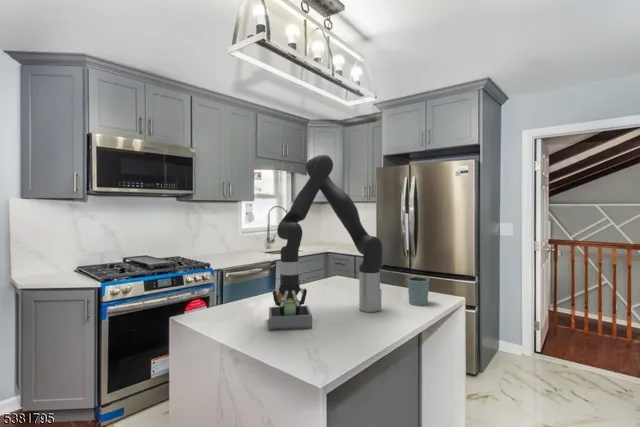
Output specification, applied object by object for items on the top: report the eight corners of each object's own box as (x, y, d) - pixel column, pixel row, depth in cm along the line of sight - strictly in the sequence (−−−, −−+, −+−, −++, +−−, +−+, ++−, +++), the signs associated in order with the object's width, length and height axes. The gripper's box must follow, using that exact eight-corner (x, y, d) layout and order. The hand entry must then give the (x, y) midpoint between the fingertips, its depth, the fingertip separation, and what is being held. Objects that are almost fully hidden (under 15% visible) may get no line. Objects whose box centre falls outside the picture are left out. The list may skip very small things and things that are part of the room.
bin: (307, 317, 151) (307, 305, 151) (312, 328, 137) (312, 315, 137) (269, 319, 148) (268, 307, 148) (269, 330, 135) (269, 317, 135)
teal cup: (427, 301, 177) (427, 276, 177) (431, 306, 167) (431, 281, 167) (405, 300, 178) (406, 276, 178) (408, 306, 168) (409, 280, 168)
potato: (288, 314, 155) (288, 296, 155) (270, 308, 164) (270, 291, 164) (303, 310, 161) (303, 292, 161) (284, 305, 170) (284, 288, 170)
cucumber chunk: (295, 315, 146) (295, 300, 145) (296, 319, 141) (296, 303, 141) (283, 315, 145) (283, 301, 145) (283, 319, 140) (283, 304, 140)
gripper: (306, 270, 147) (306, 311, 148) (271, 271, 145) (271, 313, 145) (308, 273, 140) (308, 317, 140) (271, 274, 138) (271, 319, 138)
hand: (289, 315), depth 143 cm, fingers closed on cucumber chunk, 5 cm apart
